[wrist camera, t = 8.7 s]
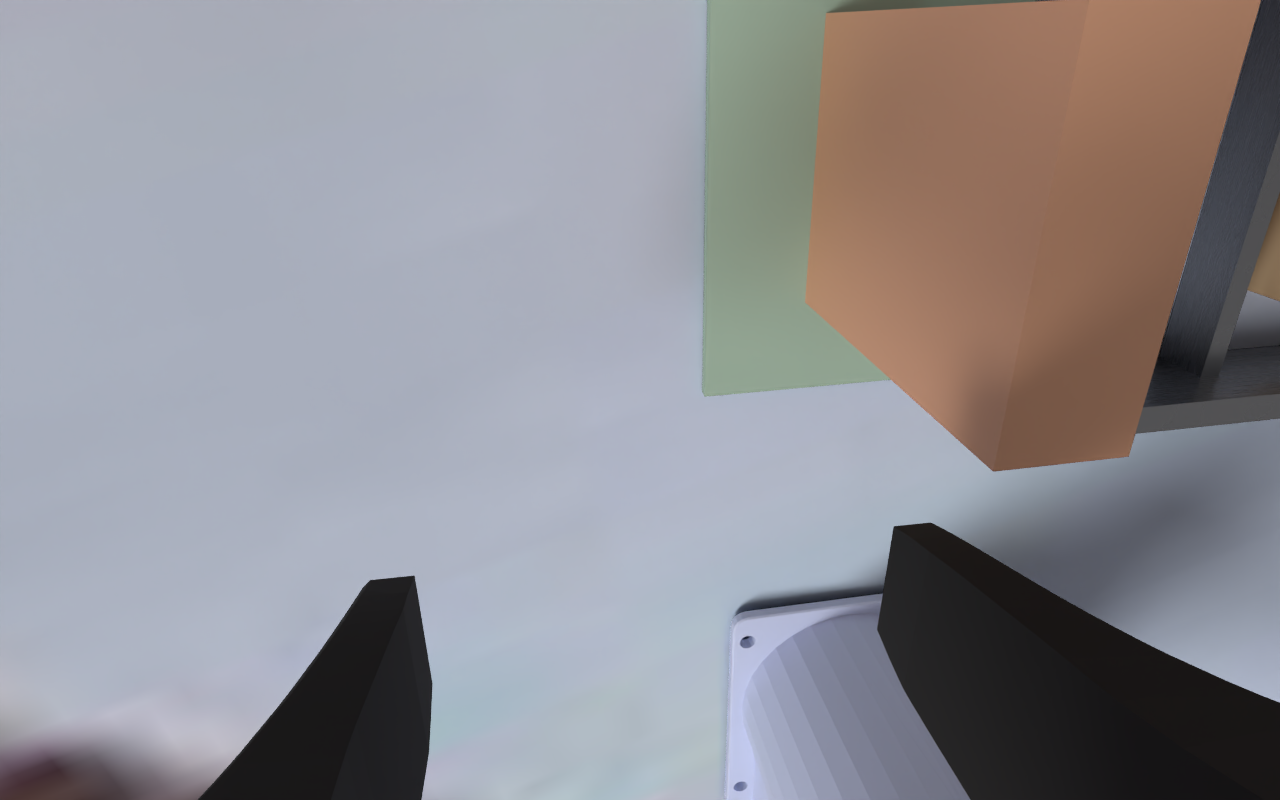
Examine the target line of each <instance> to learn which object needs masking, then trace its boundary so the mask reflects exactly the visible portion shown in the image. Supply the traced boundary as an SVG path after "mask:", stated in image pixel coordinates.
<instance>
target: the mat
mask: <svg viewBox="0 0 1280 800" xmlns="http://www.w3.org/2000/svg"><path fill="white" fill-rule="evenodd" d="M1019 2H1036V0H707V71H706V148H705V225H704V302H703V380H702V392H703V394H704V396H705V397H706V396H717V395H728V394H739V393H749V392H760V391H771V390H782V389H793V388H804V387H815V386H826V385H837V384H848V383H859V382H870V381H881V380H891V379H890V378H889V377H888V376H886V375H885V374H884V373H883V372H882V371H881V370H880V369H879V368H878V367H876V366H875V365H874V364H873V363H872V362H871V361H870V360H869V359H868V358H866V357H865V356H864V355H863V354H862V353H861V352H860V351H859V350H858V349H856V348H855V347H854V346H853V345H852V344H851V343H850V342H849V341H848V340H846V339H845V338H844V337H843V336H842V335H841V334H840V333H839V332H837V331H836V330H835V329H834V328H833V327H832V326H831V325H830V324H829V323H827V322H826V321H825V320H824V319H823V318H822V317H821V316H820V315H819V314H817V313H816V312H815V311H814V310H813V309H812V308H811V307H810V306H809V305H807V304H806V303H805V296H806V282H807V268H808V254H809V240H810V227H811V213H812V199H813V185H814V171H815V157H816V144H817V130H818V116H819V102H820V88H821V74H822V61H823V47H824V33H825V19H826V13H838V12H856V11H874V10H892V9H910V8H928V7H947V6H965V5H983V4H1001V3H1019Z"/></svg>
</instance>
